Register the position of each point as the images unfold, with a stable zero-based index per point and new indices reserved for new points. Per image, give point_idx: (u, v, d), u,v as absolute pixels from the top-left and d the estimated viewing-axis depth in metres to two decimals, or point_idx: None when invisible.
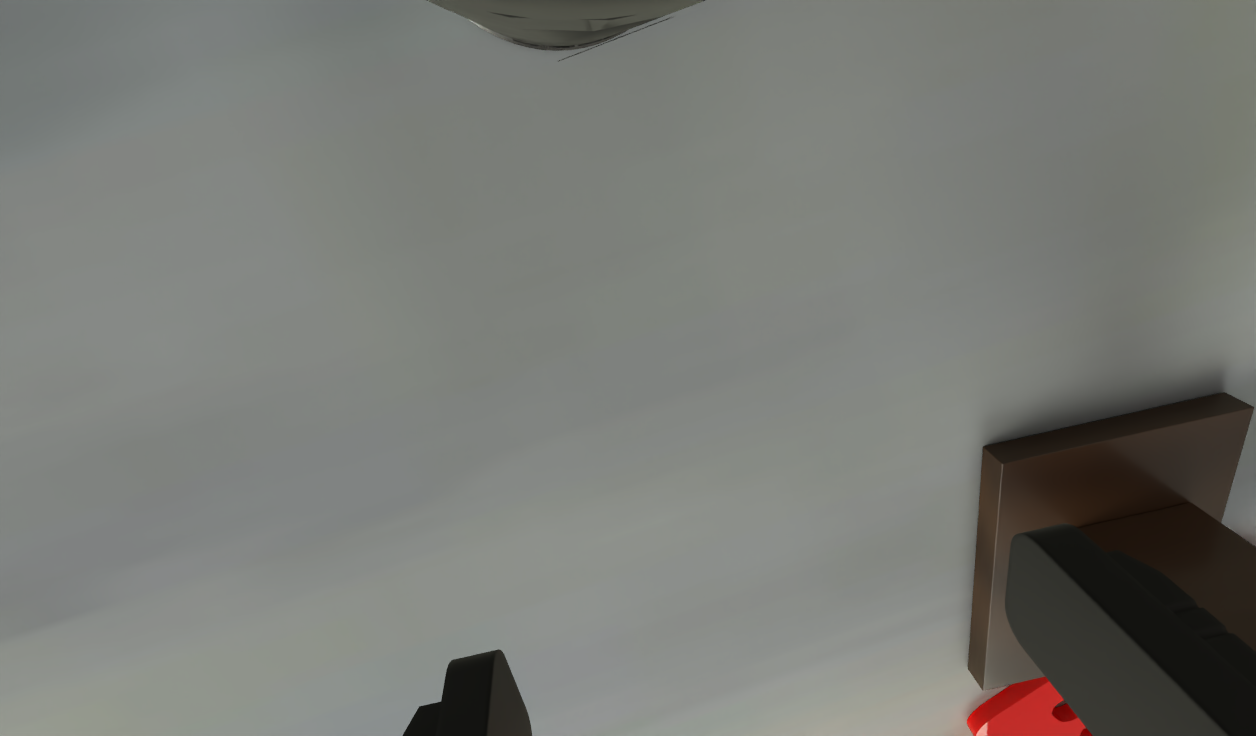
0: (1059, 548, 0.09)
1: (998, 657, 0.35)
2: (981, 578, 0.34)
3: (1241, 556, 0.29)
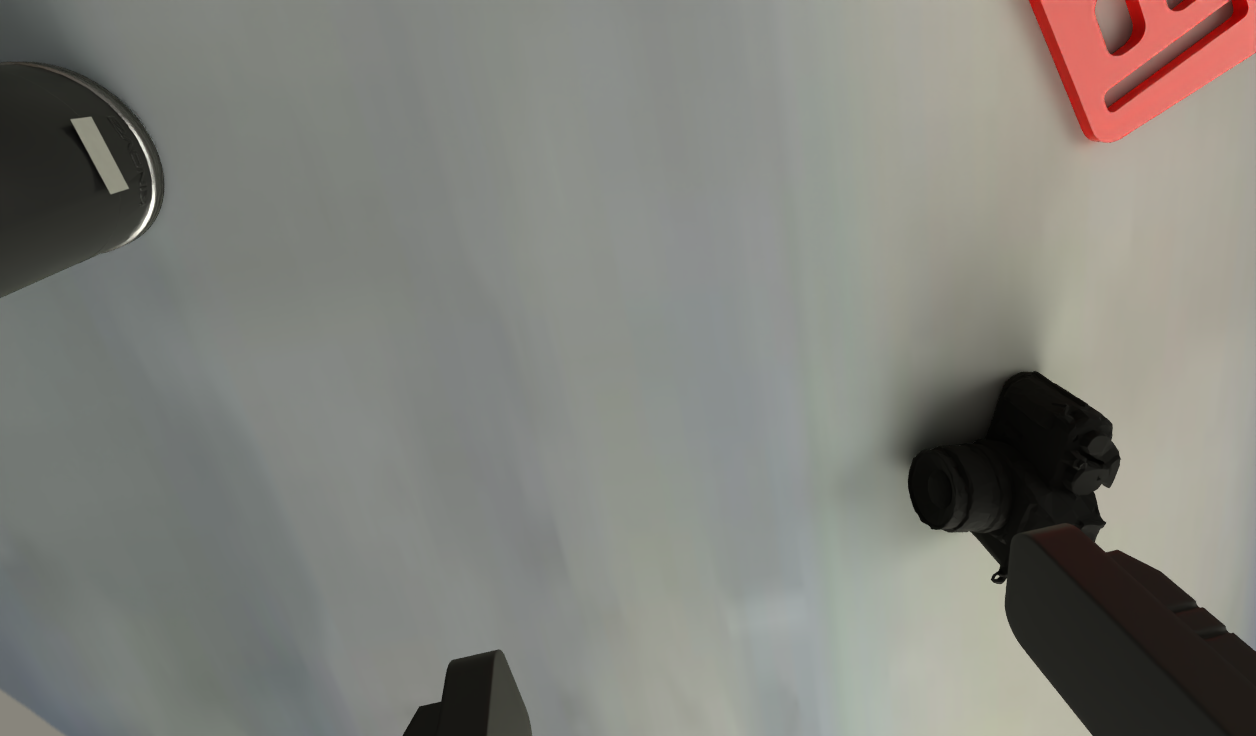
0: (1059, 548, 0.09)
1: None
2: None
3: None
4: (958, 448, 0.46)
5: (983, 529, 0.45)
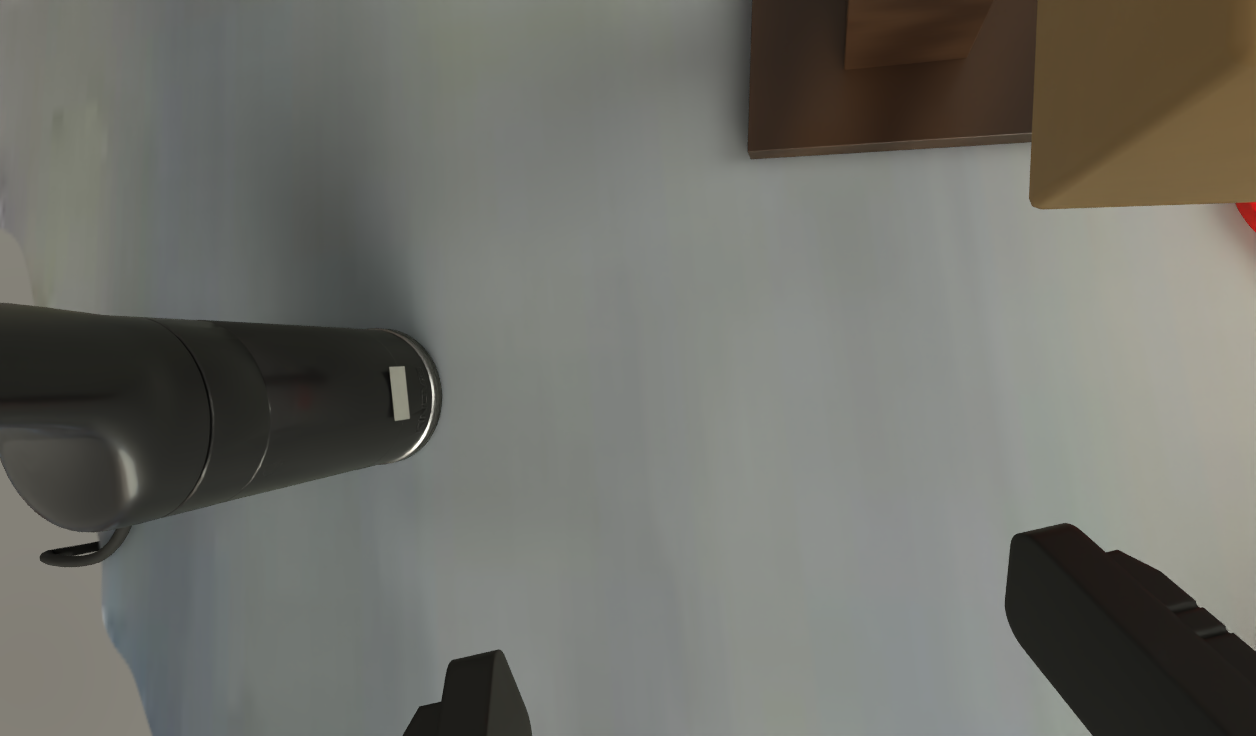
0: (1059, 548, 0.09)
1: (1017, 119, 0.32)
2: (900, 147, 0.35)
3: None
4: None
5: None
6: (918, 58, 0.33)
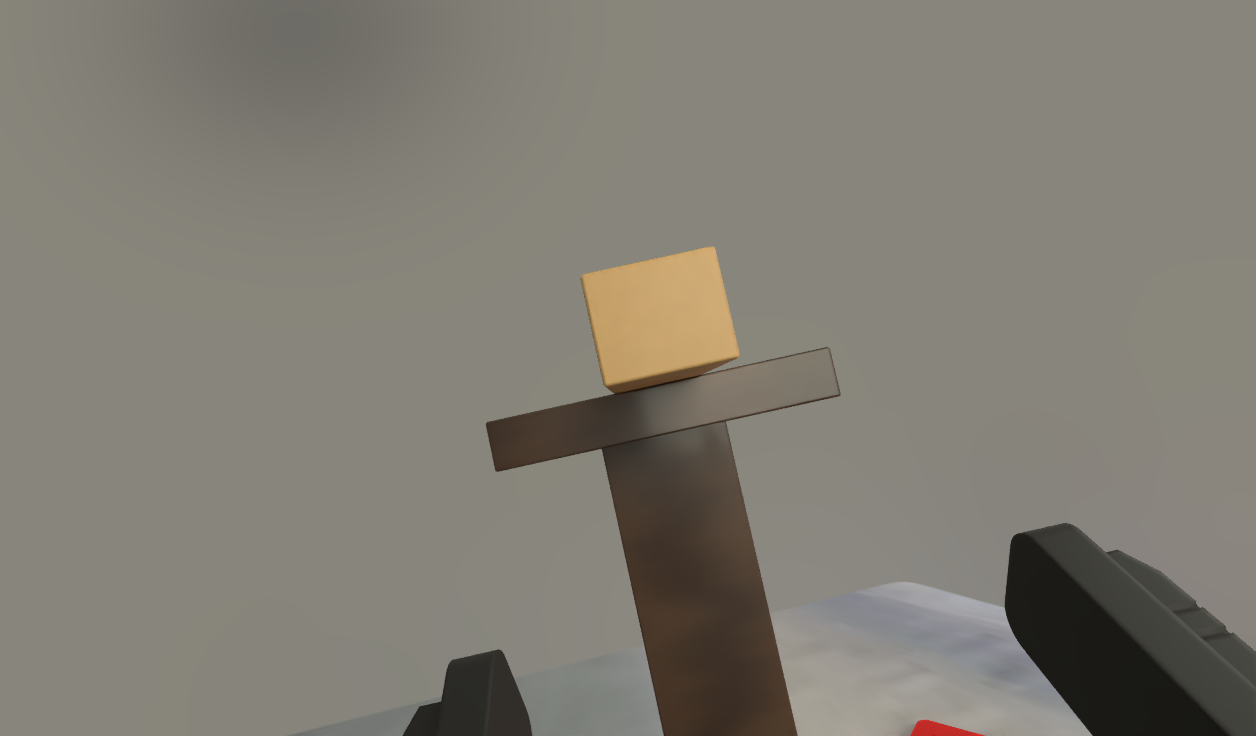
0: (1059, 548, 0.09)
1: None
2: None
3: None
4: None
5: None
6: None
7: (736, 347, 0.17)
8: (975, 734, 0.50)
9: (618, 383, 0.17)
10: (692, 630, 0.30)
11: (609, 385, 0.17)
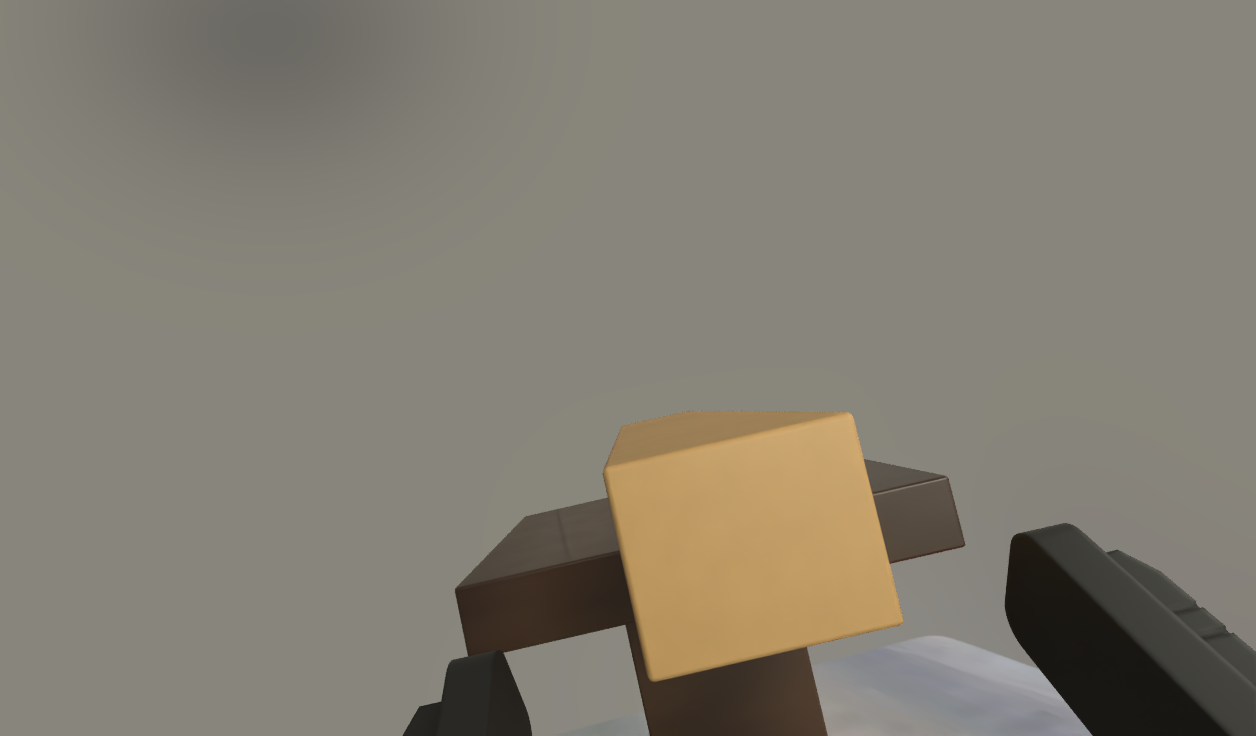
0: (1059, 548, 0.09)
1: None
2: None
3: None
4: None
5: None
6: None
7: (898, 607, 0.09)
8: None
9: (676, 676, 0.09)
10: None
11: (659, 680, 0.09)
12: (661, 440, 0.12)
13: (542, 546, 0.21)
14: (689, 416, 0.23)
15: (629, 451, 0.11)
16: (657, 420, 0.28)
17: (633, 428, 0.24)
